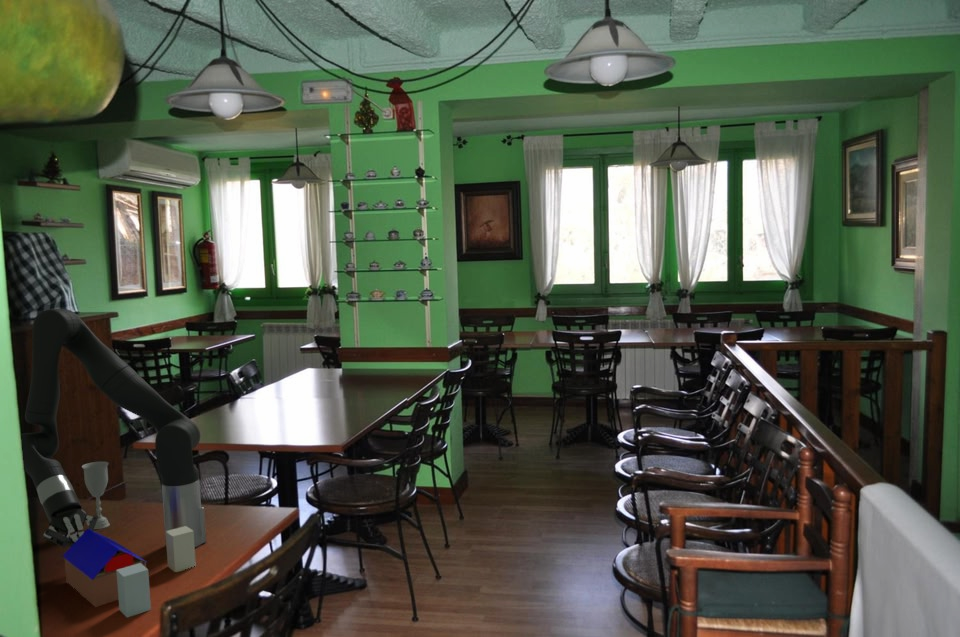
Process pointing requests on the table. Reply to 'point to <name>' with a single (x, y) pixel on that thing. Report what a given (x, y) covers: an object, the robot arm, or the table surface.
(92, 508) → the table surface
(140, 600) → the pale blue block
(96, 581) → the house
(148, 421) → the robot arm
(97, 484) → the chalice
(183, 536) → the cream block
